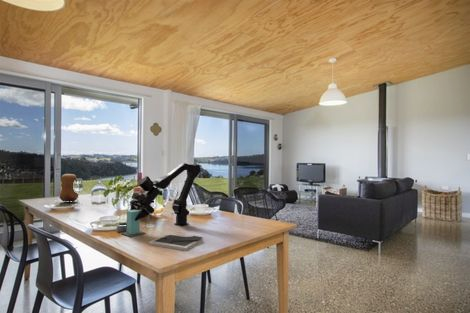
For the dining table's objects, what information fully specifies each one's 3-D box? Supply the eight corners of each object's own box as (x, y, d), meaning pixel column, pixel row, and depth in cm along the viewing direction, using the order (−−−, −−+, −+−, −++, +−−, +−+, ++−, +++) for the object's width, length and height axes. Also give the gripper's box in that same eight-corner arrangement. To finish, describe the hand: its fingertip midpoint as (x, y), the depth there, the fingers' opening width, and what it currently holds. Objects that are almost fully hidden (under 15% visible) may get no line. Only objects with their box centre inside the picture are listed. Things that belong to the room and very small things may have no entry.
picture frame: (202, 242, 142) (168, 237, 150) (202, 237, 142) (168, 232, 149) (185, 252, 127) (148, 246, 135) (185, 246, 127) (149, 240, 135)
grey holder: (132, 226, 167) (132, 221, 167) (134, 230, 159) (134, 225, 159) (116, 228, 163) (116, 223, 163) (117, 232, 155) (117, 226, 155)
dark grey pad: (145, 233, 153) (145, 232, 153) (130, 237, 146) (130, 236, 146) (135, 230, 158) (135, 229, 158) (120, 234, 151) (120, 233, 151)
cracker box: (140, 218, 188) (140, 187, 188) (132, 218, 189) (132, 187, 189) (150, 214, 202) (151, 185, 201) (143, 214, 203) (143, 185, 203)
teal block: (135, 231, 156) (135, 209, 156) (139, 232, 152) (140, 210, 152) (126, 232, 152) (126, 210, 152) (130, 234, 149) (131, 212, 149)
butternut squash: (73, 200, 254) (73, 173, 254) (80, 202, 247) (81, 173, 246) (56, 202, 243) (57, 173, 243) (63, 204, 235) (64, 174, 235)
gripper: (133, 185, 161) (113, 207, 154) (149, 188, 148) (128, 212, 141) (145, 198, 167) (127, 219, 159) (162, 202, 154) (143, 225, 146)
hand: (131, 218), depth 151 cm, fingers open, 9 cm apart
